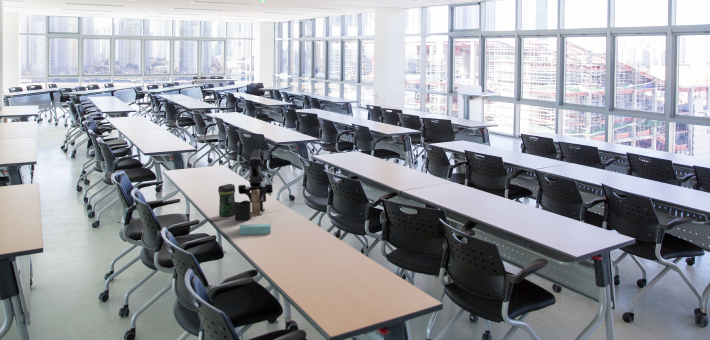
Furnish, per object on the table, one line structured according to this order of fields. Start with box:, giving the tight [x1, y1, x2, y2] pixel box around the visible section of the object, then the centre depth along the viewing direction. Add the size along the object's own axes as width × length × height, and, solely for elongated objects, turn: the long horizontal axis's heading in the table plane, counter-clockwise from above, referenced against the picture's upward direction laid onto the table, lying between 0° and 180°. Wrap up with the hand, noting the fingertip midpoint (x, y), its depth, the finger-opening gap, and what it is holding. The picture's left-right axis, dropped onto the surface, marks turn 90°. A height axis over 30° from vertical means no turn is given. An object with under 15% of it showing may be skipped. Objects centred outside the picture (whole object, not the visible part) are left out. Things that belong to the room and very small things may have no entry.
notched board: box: [239, 223, 272, 236], centre depth 293 cm, size 12×16×4 cm
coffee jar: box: [217, 183, 236, 218], centre depth 319 cm, size 10×8×19 cm
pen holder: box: [234, 200, 252, 222], centre depth 312 cm, size 9×9×10 cm
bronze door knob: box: [250, 189, 263, 217], centre depth 301 cm, size 6×6×14 cm
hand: (255, 202), depth 300 cm, fingers closed on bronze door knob, 5 cm apart
